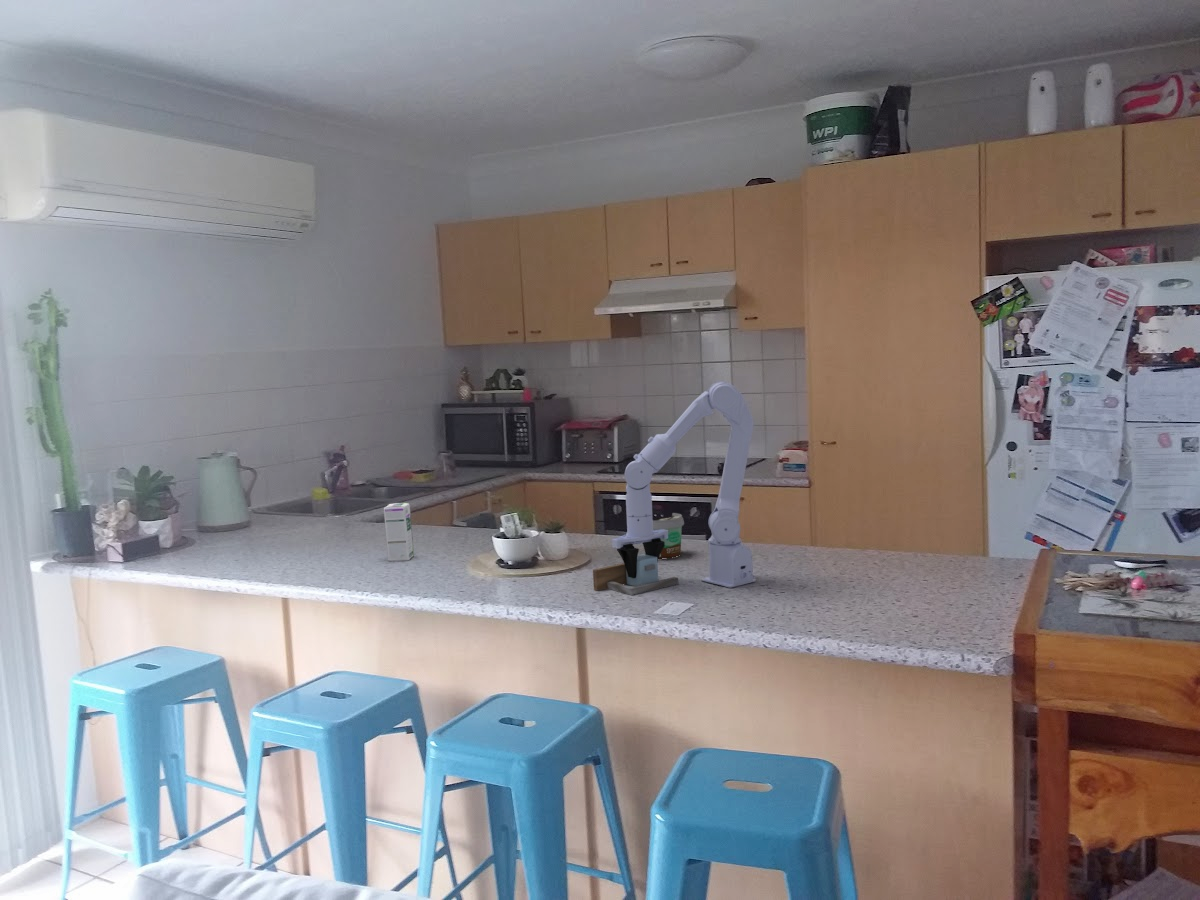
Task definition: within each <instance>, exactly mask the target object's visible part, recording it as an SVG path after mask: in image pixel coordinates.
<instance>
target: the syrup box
mask: <svg viewBox="0 0 1200 900" xmlns="http://www.w3.org/2000/svg"><path fill="white" fill-rule="evenodd" d="M383 516H384V517H383V518H384V528H385V541H386V551H387V553H386V554H387V561H388V562H401V561H410V559H411V558H413V557H414V555H415V552H414V551H415V550H414V541H413V539H414V538H413V528H412V527H413V526H412V515H411V506H410V503H409V502H395V503H388V504H387V506H384V507H383Z"/></svg>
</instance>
